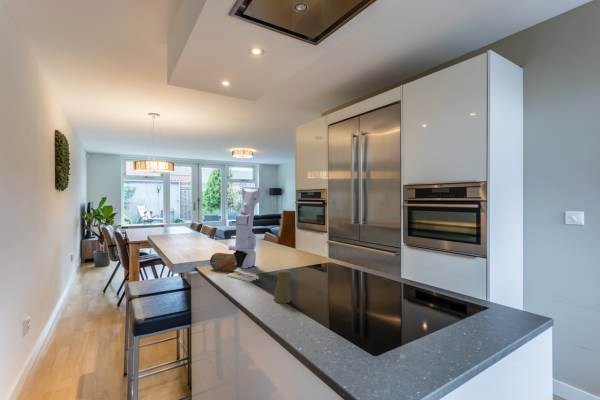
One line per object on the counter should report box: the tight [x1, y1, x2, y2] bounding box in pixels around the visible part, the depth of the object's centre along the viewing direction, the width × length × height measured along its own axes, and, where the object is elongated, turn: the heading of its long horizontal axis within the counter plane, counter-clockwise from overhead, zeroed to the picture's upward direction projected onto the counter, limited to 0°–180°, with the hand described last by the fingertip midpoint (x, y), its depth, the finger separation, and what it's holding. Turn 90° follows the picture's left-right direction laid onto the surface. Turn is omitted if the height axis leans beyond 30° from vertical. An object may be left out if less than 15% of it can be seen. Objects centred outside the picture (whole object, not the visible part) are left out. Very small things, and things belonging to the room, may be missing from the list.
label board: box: [226, 271, 260, 283], centre depth 137 cm, size 6×13×1 cm, turn 61°
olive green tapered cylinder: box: [273, 268, 292, 304], centre depth 108 cm, size 6×6×11 cm
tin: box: [209, 252, 239, 272], centre depth 149 cm, size 15×3×8 cm, turn 79°
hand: (239, 266), depth 146 cm, fingers closed
